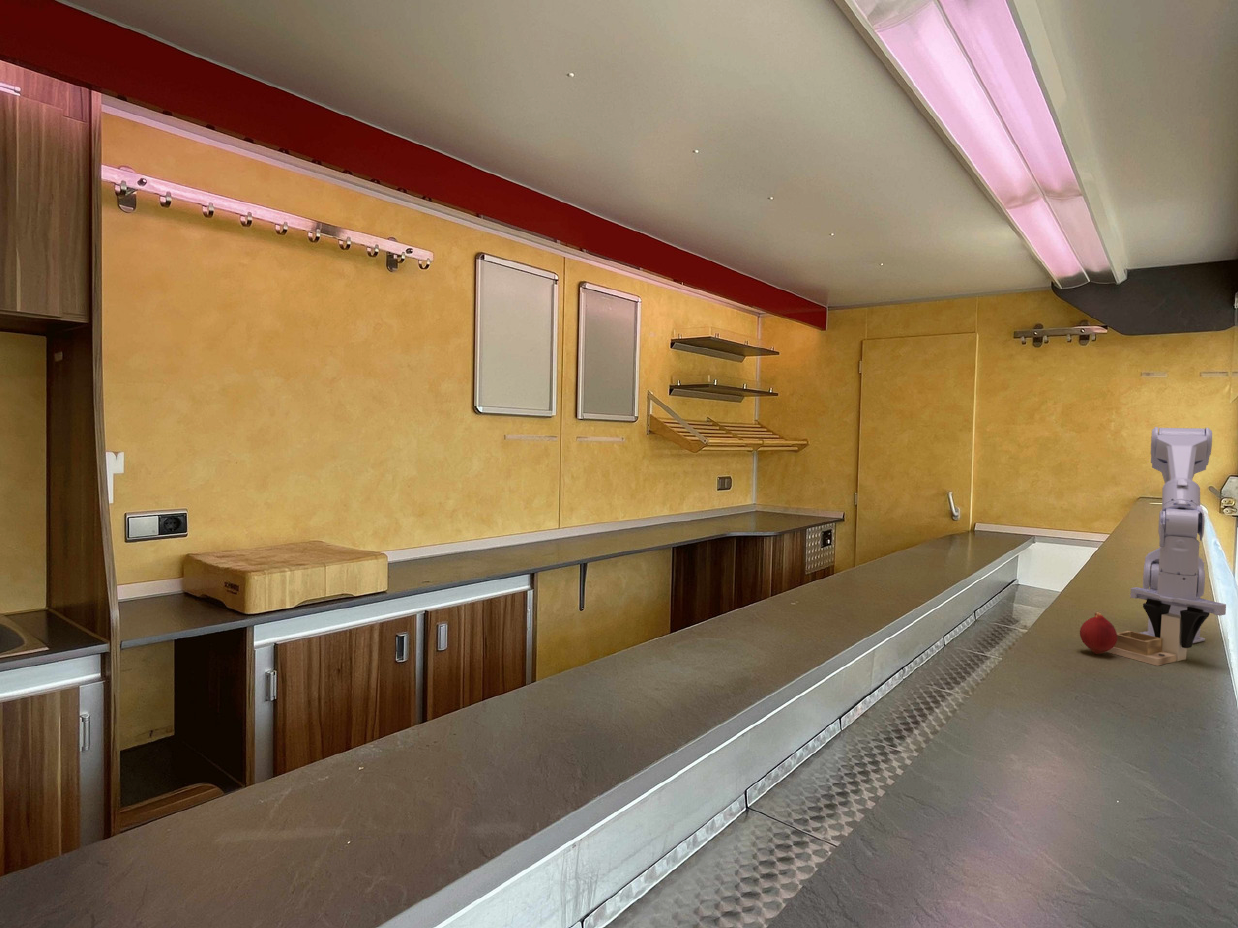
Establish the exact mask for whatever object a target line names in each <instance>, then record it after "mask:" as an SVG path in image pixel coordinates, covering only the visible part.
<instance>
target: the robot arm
mask: <svg viewBox="0 0 1238 928" xmlns="http://www.w3.org/2000/svg"><path fill="white" fill-rule="evenodd" d="M1212 447H1213V431H1212V429H1210V427H1205V428H1200V427H1199V428H1196V427H1194V428H1192V427H1191V428H1189V427H1183V428H1182V427H1159V426H1155V427H1154V428H1152V430H1151V439H1150V463H1151V468H1152V469H1153V470H1156V471H1159V473H1161V476H1162V478H1163V481H1164V484H1163V486H1162V495H1161V499H1162V500H1161V510H1160V511H1159V514H1158V529H1157V531H1158V532H1157V533H1158V537H1159V548H1156V549H1154V550H1151V551H1149V552H1148V553H1147V555H1145V556H1144V563H1143V573H1142V575H1143V576H1142V587H1137V586H1136V587H1131V588H1130V598H1132V599H1136V600H1137V599H1140V600H1144V601H1146V602H1144V603H1142V608H1143V609H1144V612H1145V613H1146V615H1147V617H1148V618H1147V620H1148V621H1147V631H1140V632H1139V633H1142V634H1146V635H1150V636H1154V637H1158V638H1160V634H1161V619H1162V615H1163V614H1168V613H1172V614H1177V615H1181V620H1182V640H1181V645H1182V647H1183V648H1187V649H1188V648H1190V649H1191V648H1192V646H1193V644H1196V643H1200V642H1204V641H1206V638H1205V637H1201V626H1202V625H1203V624H1204V622H1205V621H1206V620H1207V619H1208V618H1209V616H1210V614H1213V615H1215V616H1220V617H1221V616H1224V615H1227V614H1226V612H1227V604H1225V603H1221V602H1217V601H1213V600H1210V599H1205V598H1201V597H1203V596H1204V594H1205V585H1206V582H1205V581H1206V572H1205V562H1204V560H1203V559H1202V558H1201V557H1200V556H1199V555H1200V545H1201V544H1200V543H1201V541H1202V540H1203V537H1204V533H1205V522H1206V521H1205V519H1206V518H1205V512H1204V510H1203V506H1202V505H1201V487H1200V485H1199V484H1198V482H1197V483H1196V482H1195V481H1194V480H1193V478H1194V476H1195V475H1196V474H1197V473H1200V472H1201V473H1202V472H1204V471H1206V470H1207V466H1208V465H1209V462H1210V457H1211V454H1212ZM1198 535H1199V540H1198Z"/></svg>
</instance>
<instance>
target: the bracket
mask: <svg viewBox="0 0 1238 928" xmlns="http://www.w3.org/2000/svg"><path fill="white" fill-rule="evenodd" d="M1116 633H1117V642H1116V644H1115V646H1114V647H1113V648H1111V649H1110V650H1108V651H1106V652H1105V653H1109V654H1113V655H1117V656H1120V657H1124V658H1128V659H1131V660H1135V661H1137V662H1141V663H1142V662H1143V663H1146V664H1149V665H1154V666H1156V667H1157V666H1162V665H1166V664H1169V663H1170V664H1171V663H1175V662H1177V661H1176V655H1175V654H1171V653H1167V652H1163V651H1162V647H1163V639H1162V638H1158V637H1154V636H1150V635H1146V634H1142V633H1140V632H1137V631H1132V630H1126V631H1121V632H1116Z"/></svg>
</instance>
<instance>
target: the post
mask: <svg viewBox="0 0 1238 928" xmlns="http://www.w3.org/2000/svg"><path fill="white" fill-rule="evenodd" d="M1160 638H1162V639H1163V647H1162V651H1163V652H1167V653H1171V654H1175V655H1176V661H1175V662H1179V661H1183V660H1187V649H1188V648H1183V647H1182V645H1181V640H1182V620H1181V615H1177V614H1172V613H1168V614H1163V615H1162V619H1161V634H1160Z"/></svg>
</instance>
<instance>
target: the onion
mask: <svg viewBox="0 0 1238 928" xmlns="http://www.w3.org/2000/svg"><path fill="white" fill-rule="evenodd" d="M1117 633H1118V632H1117V630H1116V628H1115V626H1114V625H1113V624H1112V623H1111V622H1110V621H1109V619H1107V618H1105V617H1104V616H1103V615H1102V613H1101V612H1097V611H1096V612H1094V616H1093V617H1090V618H1089V619H1087V620H1085V621H1084V622H1083V623H1082V625H1081V627H1080V629H1079V637H1080V640H1081V641H1082V643H1083V644H1084V645H1085V647H1087V648H1088V649H1090V650H1091V652H1092V653H1093V654H1095V655H1101V654H1103V653H1107V652H1106V651H1108V650H1110V649H1111V648H1113V647H1114V646H1115V644H1116V642H1117Z"/></svg>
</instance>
